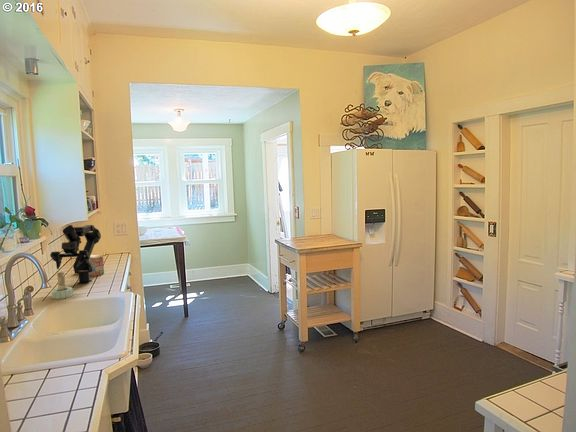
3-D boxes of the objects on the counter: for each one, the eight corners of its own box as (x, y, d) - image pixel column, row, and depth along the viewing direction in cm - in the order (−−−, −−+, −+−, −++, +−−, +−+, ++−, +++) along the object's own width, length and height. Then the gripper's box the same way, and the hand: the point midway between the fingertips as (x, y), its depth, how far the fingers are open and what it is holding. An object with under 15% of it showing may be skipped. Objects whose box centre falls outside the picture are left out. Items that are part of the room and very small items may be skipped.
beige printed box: (76, 273, 258) (75, 255, 257) (85, 271, 263) (84, 253, 262) (95, 276, 247) (94, 257, 246) (104, 274, 252) (103, 255, 251)
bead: (58, 294, 205) (57, 287, 204) (76, 293, 205) (75, 286, 205) (48, 299, 195) (47, 292, 195) (67, 298, 196) (66, 291, 196)
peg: (63, 295, 202) (61, 272, 201) (67, 295, 201) (65, 272, 200) (57, 296, 199) (55, 273, 198) (62, 297, 198) (60, 273, 197)
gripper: (50, 237, 209) (42, 261, 199) (86, 235, 212) (80, 258, 202) (57, 249, 217) (50, 272, 207) (92, 247, 220) (86, 270, 210)
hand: (66, 268), depth 206 cm, fingers open, 9 cm apart
